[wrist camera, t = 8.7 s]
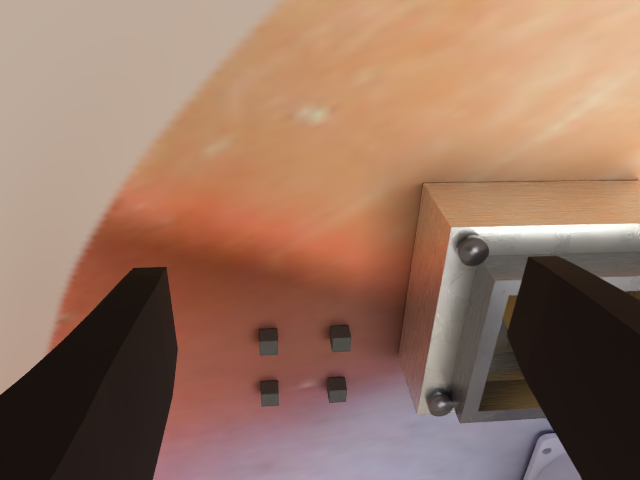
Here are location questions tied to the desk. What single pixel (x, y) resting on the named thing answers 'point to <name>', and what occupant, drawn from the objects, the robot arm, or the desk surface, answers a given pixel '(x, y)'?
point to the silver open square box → (500, 282)
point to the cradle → (336, 386)
